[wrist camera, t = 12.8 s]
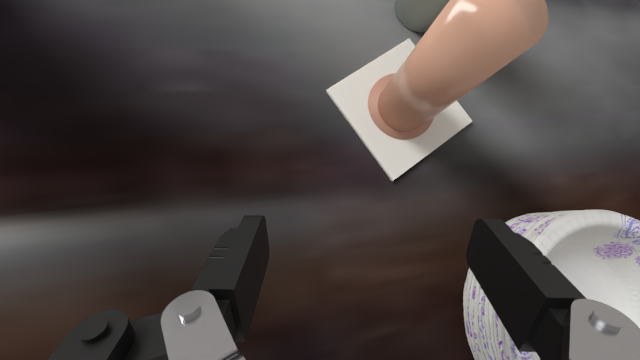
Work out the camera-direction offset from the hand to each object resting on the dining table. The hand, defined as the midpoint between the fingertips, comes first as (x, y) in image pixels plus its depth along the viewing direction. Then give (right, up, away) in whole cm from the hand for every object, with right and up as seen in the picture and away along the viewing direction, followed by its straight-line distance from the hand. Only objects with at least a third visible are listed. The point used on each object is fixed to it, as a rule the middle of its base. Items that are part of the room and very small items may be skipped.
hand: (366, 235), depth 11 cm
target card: (+6, +9, +15) cm, 19 cm away
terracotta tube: (+6, +9, +15) cm, 18 cm away
